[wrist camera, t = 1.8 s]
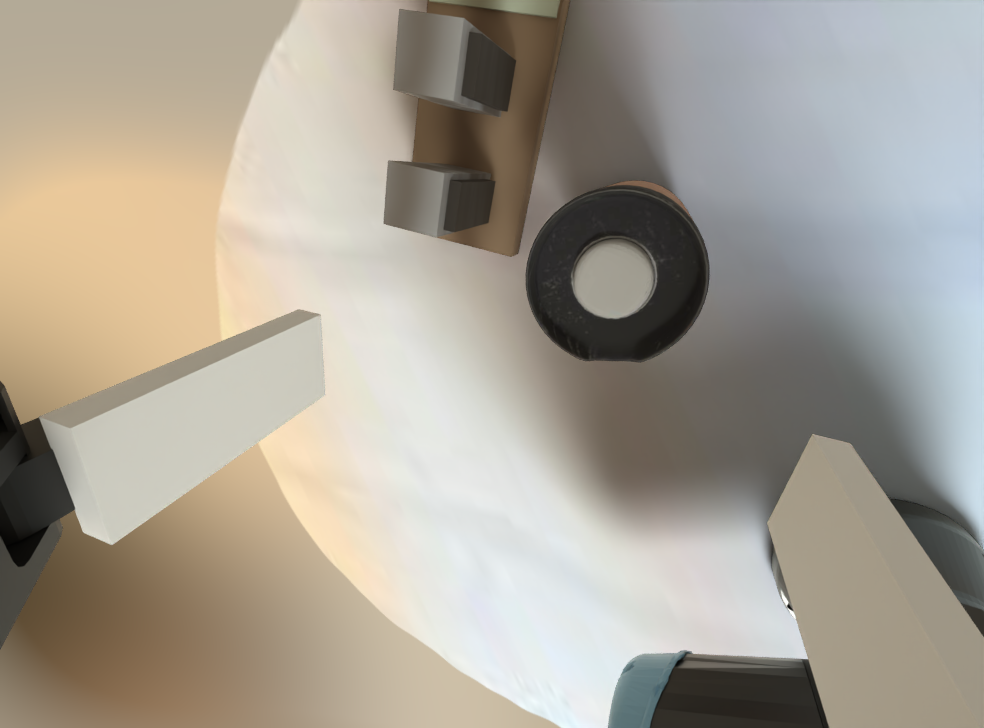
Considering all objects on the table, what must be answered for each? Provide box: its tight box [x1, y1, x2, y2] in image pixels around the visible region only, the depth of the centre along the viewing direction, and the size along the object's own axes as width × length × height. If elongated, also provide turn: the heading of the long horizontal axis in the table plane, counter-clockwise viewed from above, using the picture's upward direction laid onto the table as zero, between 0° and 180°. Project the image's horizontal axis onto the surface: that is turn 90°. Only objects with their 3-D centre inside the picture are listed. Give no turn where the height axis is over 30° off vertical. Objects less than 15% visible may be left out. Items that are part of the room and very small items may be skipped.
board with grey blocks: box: [384, 0, 570, 257], centre depth 31 cm, size 10×26×11 cm, turn 170°
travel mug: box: [526, 181, 709, 362], centre depth 28 cm, size 8×8×20 cm
